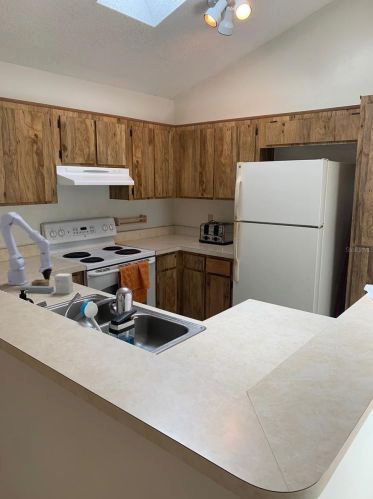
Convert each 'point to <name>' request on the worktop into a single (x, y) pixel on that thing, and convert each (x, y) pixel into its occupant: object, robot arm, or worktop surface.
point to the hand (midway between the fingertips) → (47, 280)
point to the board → (38, 289)
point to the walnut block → (40, 283)
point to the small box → (63, 283)
